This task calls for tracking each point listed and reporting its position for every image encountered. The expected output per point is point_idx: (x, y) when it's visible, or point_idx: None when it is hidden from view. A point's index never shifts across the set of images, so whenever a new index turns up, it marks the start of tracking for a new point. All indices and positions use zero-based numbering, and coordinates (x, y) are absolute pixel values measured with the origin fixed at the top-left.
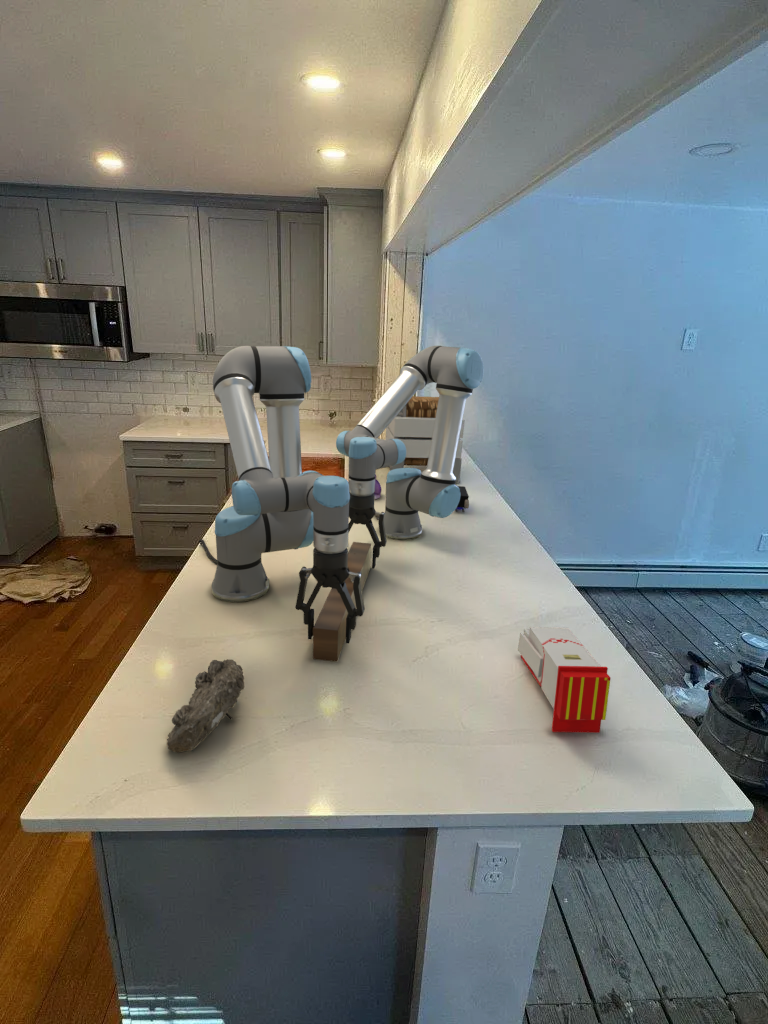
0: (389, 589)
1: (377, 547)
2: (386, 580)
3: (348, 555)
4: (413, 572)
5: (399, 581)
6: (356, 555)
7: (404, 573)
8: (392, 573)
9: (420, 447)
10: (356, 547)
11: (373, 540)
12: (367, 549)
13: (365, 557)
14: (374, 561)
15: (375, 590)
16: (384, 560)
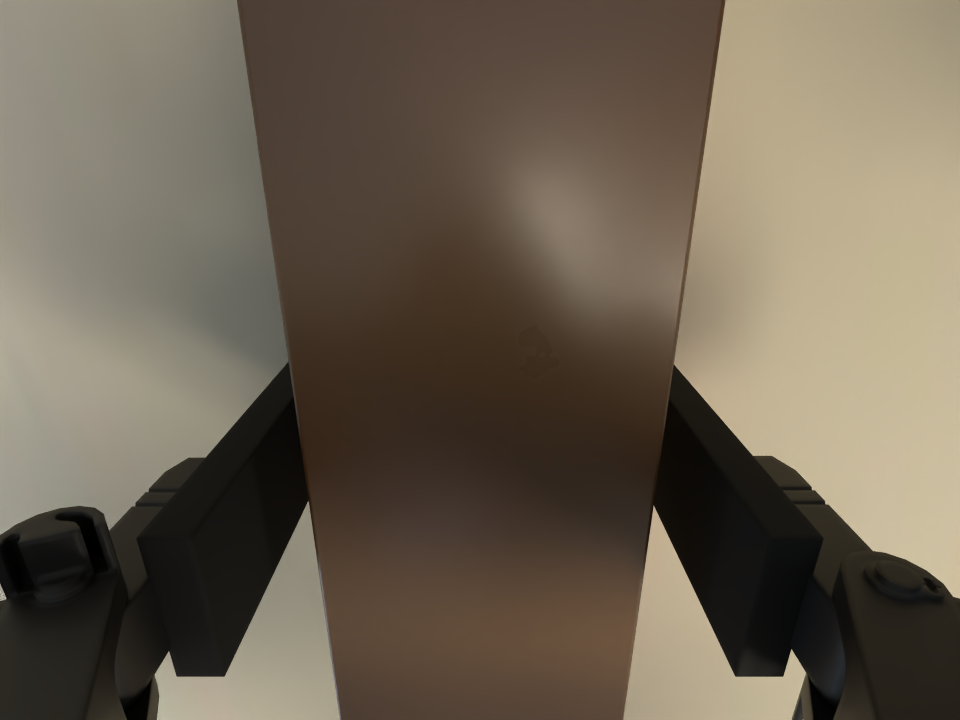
0: (77, 79)
1: (36, 537)
2: (182, 288)
3: (657, 237)
4: (6, 492)
5: (52, 294)
6: (488, 279)
7: (73, 459)
8: (176, 439)
9: None
10: (543, 594)
11: (58, 716)
12: (344, 563)
13: (277, 214)
14: (254, 404)
15: (218, 13)
16: (316, 637)
